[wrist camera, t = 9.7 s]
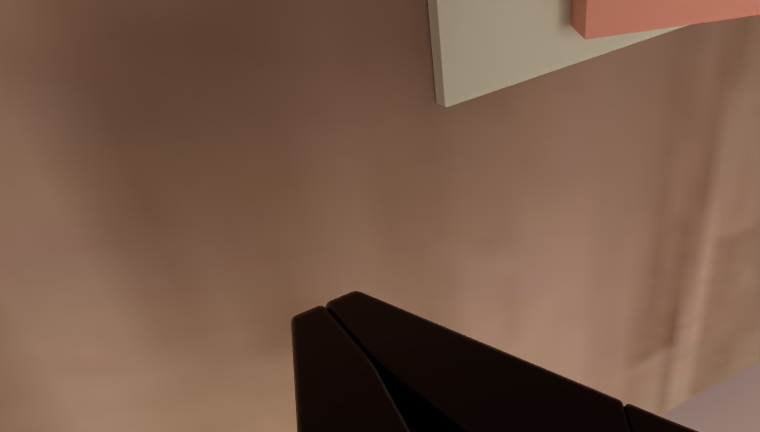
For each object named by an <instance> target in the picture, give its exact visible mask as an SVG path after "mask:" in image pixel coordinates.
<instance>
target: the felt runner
mask: <svg viewBox="0 0 760 432" xmlns="http://www.w3.org/2000/svg"><path fill="white" fill-rule="evenodd" d="M428 12H429V23H430V35H431V47H432V58H433V70H434V82H435V93H436V103H438V104H440V105H441V106H443V107H445V108H446V107H449V106H452V105H455V104H458V103H461V102H464V101H467V100H470V99H473V98H476V97H479V96H482V95H485V94H488V93H491V92H493V91H496V90H499V89H502V88H505V87H508V86H511V85H514V84H517V83H520V82H523V81H526V80H529V79H532V78H535V77H537V76H540V75H543V74H546V73H549V72H552V71H555V70H558V69H561V68H564V67H567V66H570V65H573V64H576V63H579V62H582V61H584V60H587V59H590V58H593V57H596V56H599V55H602V54H605V53H608V52H611V51H614V50H617V49H620V48H623V47H626V46H629V45H631V44H634V43H637V42H640V41H643V40H646V39H649V38H652V37H655V36H658V35H661V34H664V33H667V32H670V31H673V30H675V29H678V28H681V27H684V26H687V25H684V26H677V27H670V28H663V29H656V30H649V31H642V32H635V33H628V34H621V35H614V36H607V37H601V38H594V39H587V40H585V39H584V38H583V37H582V36H581V35H580V34H579V33H578V32H577V31H576V30H575V29H574V28H573V27H572V26H571V0H428Z"/></svg>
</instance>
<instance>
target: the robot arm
mask: <svg viewBox="0 0 760 432" xmlns="http://www.w3.org/2000/svg"><path fill="white" fill-rule="evenodd" d="M291 330H292V347H293V364H294V382H295V399H296V416H297V432H698V431H695V430H693V429H690V428H688V427H685V426H682V425H680V424H677V423H675V422H672V421H670V420H667V419H665V418H662V417H660V416H657V415H655V414H653V413H650V412H648V411H645V410H643V409H641V408H638V407H636V406H633V405H631V404H627V405H625V406H623V403H622V402H621V401H620V400H618V399H616V398H613V397H611V396H609V395H606V394H604V393H602V392H599V391H597V390H594V389H592V388H590V387H587V386H585V385H582V384H580V383H578V382H575V381H573V380H570V379H568V378H566V377H563V376H561V375H558V374H556V373H554V372H551V371H549V370H546V369H544V368H542V367H539V366H537V365H534V364H532V363H530V362H527V361H525V360H522V359H520V358H518V357H515V356H513V355H510V354H508V353H506V352H503V351H501V350H498V349H496V348H494V347H491V346H489V345H486V344H484V343H482V342H479V341H477V340H474V339H472V338H470V337H467V336H465V335H462V334H460V333H458V332H455V331H453V330H450V329H448V328H446V327H443V326H441V325H438V324H436V323H434V322H431V321H429V320H427V319H424V318H422V317H419V316H417V315H415V314H412V313H410V312H407V311H405V310H403V309H400V308H398V307H395V306H393V305H391V304H388V303H386V302H383V301H381V300H379V299H376V298H374V297H371V296H369V295H367V294H364V293H362V292H357V291H354V292H350V293H348V294H346V295H343V296H341V297H339V298H336V299H334V300H331V301H329V302H328V303H327V305H326V308H325V307H323V306H317V307H315V308H312V309H310V310H308V311H305V312H303V313H301V314H298V315H296V316H294V317H293V318H292V321H291Z"/></svg>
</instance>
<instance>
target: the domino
mask: <svg viewBox="0 0 760 432" xmlns="http://www.w3.org/2000/svg"><path fill="white" fill-rule="evenodd" d="M754 15H760V0H571V26H572V27H573V28H574V29H575V30H576V31H577V32H578V33H579V34H580V35H581V36H582V37H583V38H584V39H585V40H587V39H594V38H601V37H607V36H614V35H621V34H628V33H635V32H642V31H649V30H656V29H663V28H670V27H677V26H684V25H691V24H698V23H705V22H712V21H719V20H726V19H733V18H740V17H747V16H754Z"/></svg>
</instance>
